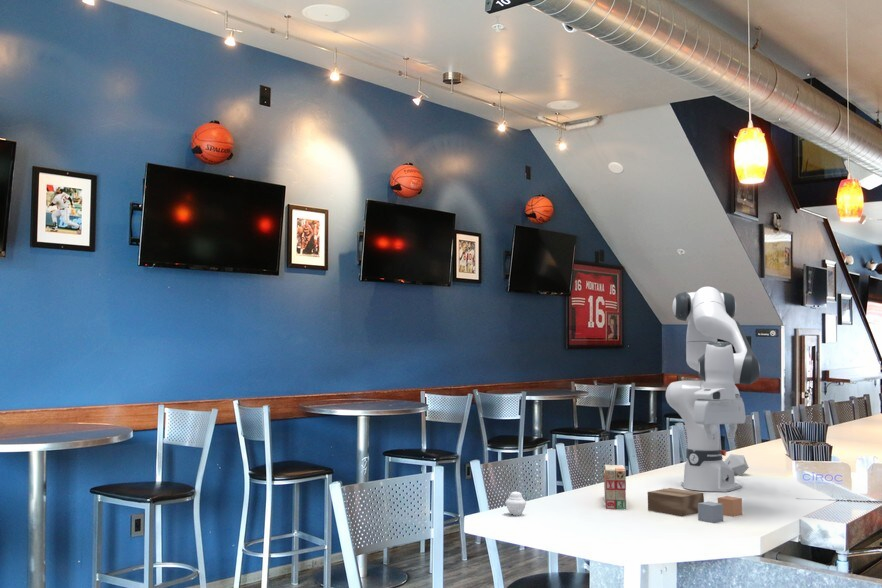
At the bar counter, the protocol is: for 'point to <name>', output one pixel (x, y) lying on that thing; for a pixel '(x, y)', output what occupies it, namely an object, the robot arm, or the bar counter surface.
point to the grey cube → (710, 512)
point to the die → (737, 464)
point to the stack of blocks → (615, 486)
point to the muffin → (515, 503)
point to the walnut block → (674, 501)
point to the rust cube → (731, 505)
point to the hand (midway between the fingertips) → (721, 439)
